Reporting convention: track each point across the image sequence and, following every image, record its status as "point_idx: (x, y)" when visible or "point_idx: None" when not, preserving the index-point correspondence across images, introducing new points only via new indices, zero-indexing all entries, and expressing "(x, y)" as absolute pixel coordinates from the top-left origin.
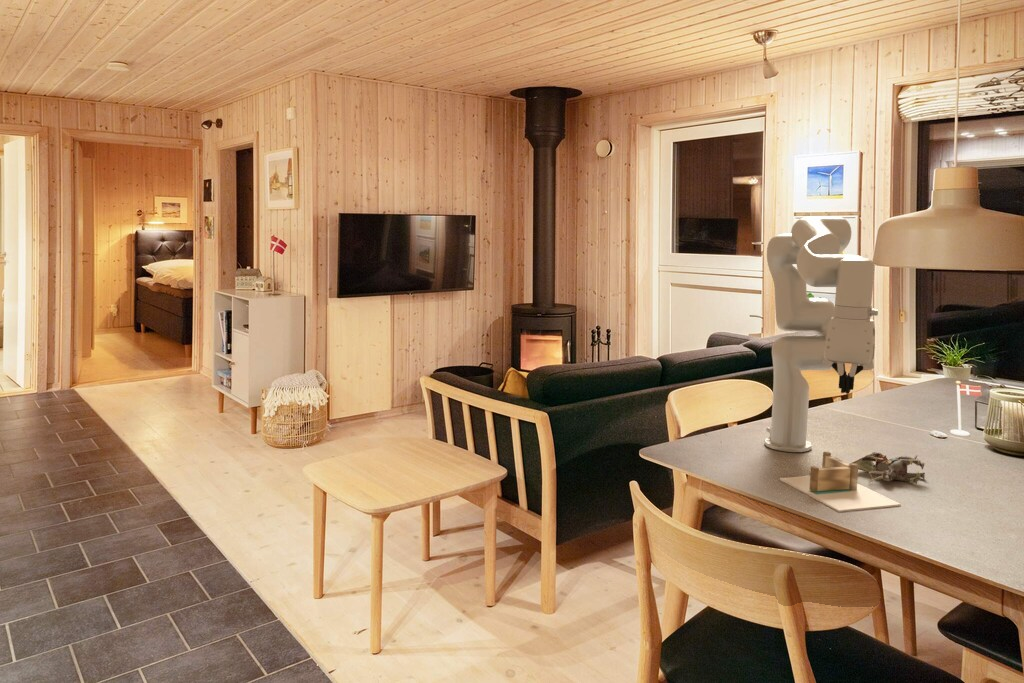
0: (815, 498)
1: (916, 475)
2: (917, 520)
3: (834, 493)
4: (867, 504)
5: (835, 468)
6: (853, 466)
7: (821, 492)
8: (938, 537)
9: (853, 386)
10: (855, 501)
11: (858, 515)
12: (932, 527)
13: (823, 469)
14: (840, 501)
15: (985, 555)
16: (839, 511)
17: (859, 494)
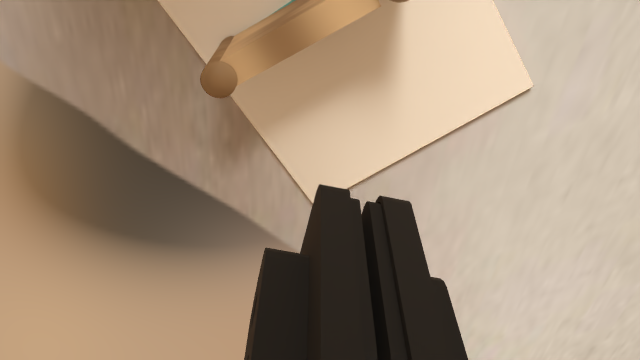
0: (245, 112)
1: None
2: (539, 197)
3: (312, 44)
4: (414, 125)
5: (310, 32)
6: (395, 1)
7: None
8: (548, 294)
9: (442, 298)
10: (378, 109)
11: None
12: (561, 236)
13: (256, 68)
14: (327, 125)
15: (614, 356)
16: None
17: (406, 24)
